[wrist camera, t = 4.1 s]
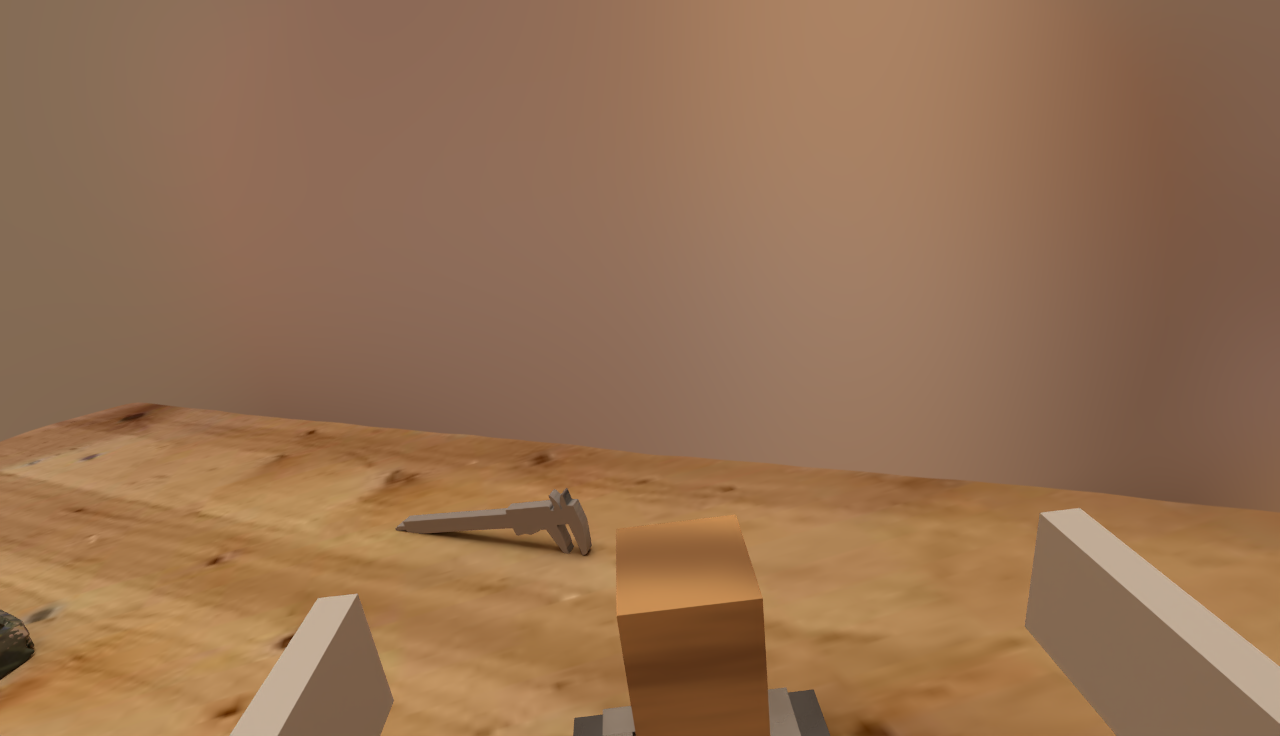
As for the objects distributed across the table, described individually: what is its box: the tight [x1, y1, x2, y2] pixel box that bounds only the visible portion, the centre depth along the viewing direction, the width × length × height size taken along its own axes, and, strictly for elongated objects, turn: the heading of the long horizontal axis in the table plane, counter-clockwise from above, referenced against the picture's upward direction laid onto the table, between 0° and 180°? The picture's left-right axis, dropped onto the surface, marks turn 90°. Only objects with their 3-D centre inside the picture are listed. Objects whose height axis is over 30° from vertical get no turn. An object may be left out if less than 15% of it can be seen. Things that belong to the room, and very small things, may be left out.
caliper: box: [396, 488, 592, 555], centre depth 55 cm, size 20×1×6 cm, turn 71°
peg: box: [616, 515, 770, 736], centre depth 26 cm, size 5×5×16 cm
